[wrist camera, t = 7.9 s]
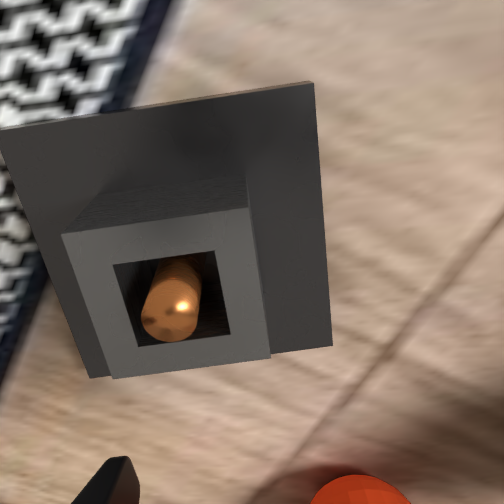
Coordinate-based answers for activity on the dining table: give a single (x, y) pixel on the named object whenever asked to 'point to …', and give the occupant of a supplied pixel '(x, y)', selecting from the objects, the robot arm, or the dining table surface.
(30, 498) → the dining table surface
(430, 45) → the dining table surface
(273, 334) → the grey socket block
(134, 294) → the grey hollow block
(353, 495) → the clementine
